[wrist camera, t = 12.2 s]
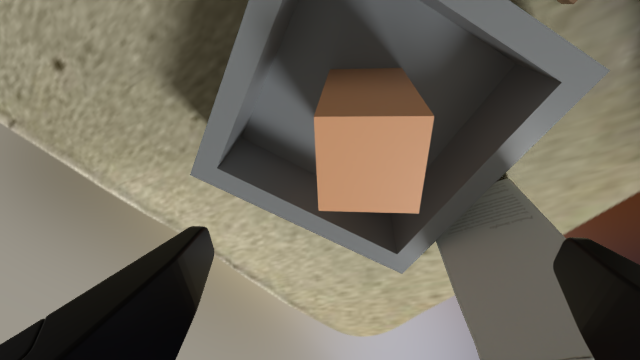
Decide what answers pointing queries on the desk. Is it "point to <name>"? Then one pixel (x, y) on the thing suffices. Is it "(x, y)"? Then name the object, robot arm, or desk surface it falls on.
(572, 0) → the stud base
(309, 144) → the bin
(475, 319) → the skincare box
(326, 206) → the tan wooden brick
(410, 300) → the desk surface
